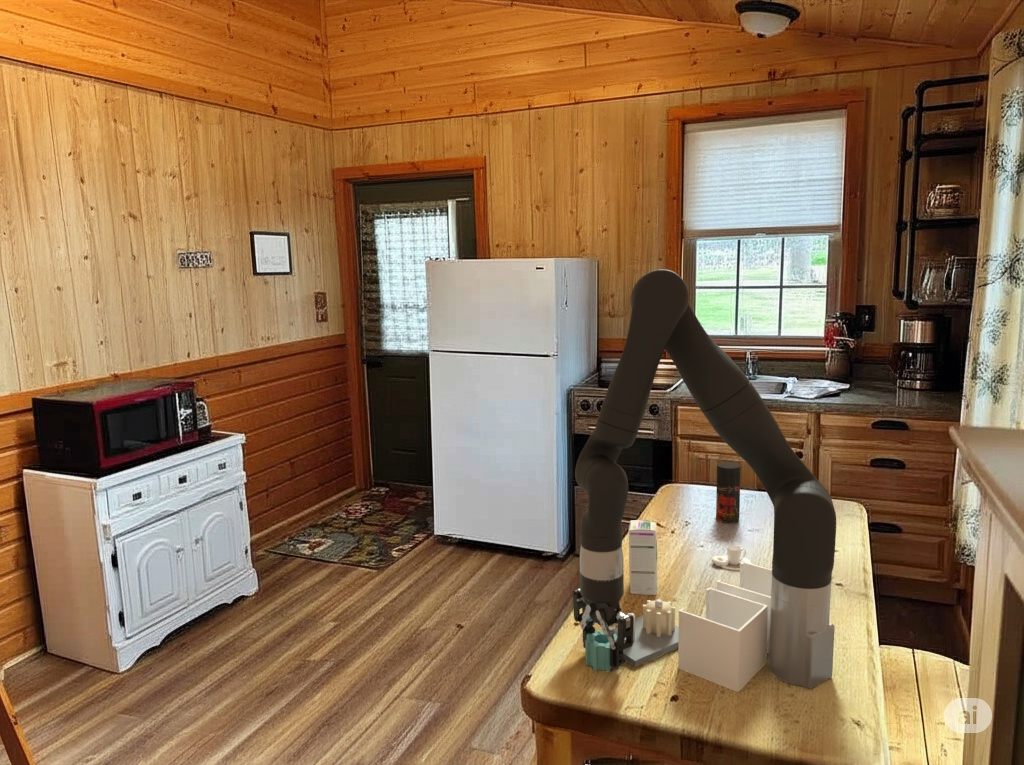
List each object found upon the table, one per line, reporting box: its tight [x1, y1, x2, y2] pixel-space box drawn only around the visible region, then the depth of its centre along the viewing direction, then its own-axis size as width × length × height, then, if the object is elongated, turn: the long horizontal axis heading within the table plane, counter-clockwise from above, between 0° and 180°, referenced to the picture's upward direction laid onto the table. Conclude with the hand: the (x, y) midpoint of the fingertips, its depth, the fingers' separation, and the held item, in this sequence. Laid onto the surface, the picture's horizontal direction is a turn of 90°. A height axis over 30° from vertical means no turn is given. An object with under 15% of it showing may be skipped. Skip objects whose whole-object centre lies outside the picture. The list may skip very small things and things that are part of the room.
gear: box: [584, 629, 619, 673], centre depth 128 cm, size 6×6×4 cm
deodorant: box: [715, 461, 742, 525], centre depth 191 cm, size 6×6×15 cm
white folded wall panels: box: [677, 561, 772, 693], centre depth 130 cm, size 25×11×11 cm, turn 138°
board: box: [601, 598, 679, 668], centre depth 134 cm, size 11×14×7 cm
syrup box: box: [628, 519, 658, 596], centre depth 154 cm, size 6×6×14 cm
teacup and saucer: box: [711, 544, 753, 571], centre depth 166 cm, size 9×8×4 cm
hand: (602, 656), depth 128 cm, fingers open, 7 cm apart
